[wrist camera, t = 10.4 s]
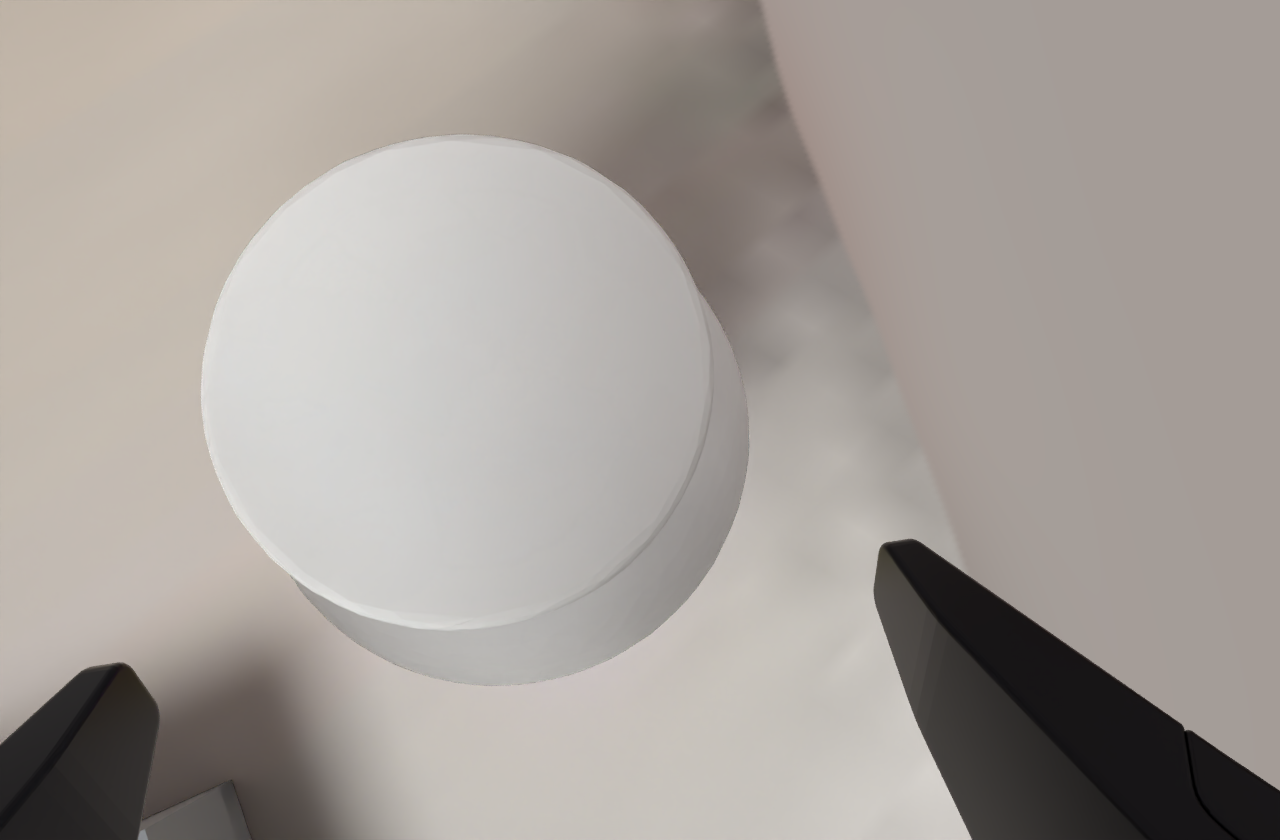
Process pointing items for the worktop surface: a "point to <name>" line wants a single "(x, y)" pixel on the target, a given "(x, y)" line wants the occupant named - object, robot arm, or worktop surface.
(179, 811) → the box
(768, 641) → the worktop surface
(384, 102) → the worktop surface
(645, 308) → the supplement bottle
